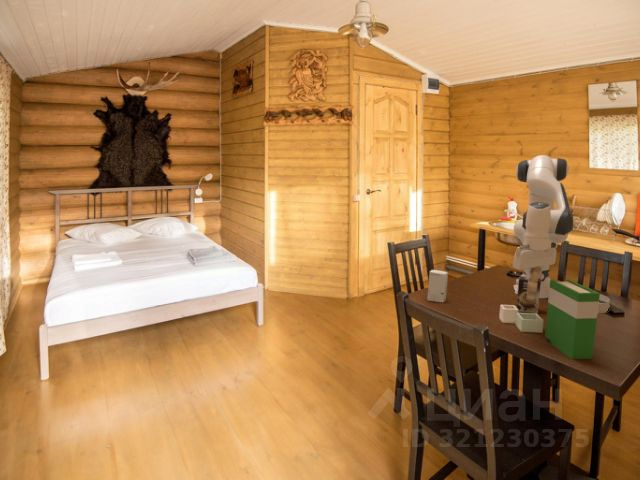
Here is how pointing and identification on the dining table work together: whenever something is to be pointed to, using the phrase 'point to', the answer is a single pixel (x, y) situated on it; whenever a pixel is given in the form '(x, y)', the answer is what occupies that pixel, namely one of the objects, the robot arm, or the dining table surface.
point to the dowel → (532, 284)
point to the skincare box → (437, 286)
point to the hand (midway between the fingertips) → (533, 277)
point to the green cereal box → (572, 318)
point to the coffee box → (522, 302)
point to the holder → (529, 322)
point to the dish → (603, 304)
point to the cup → (508, 313)
